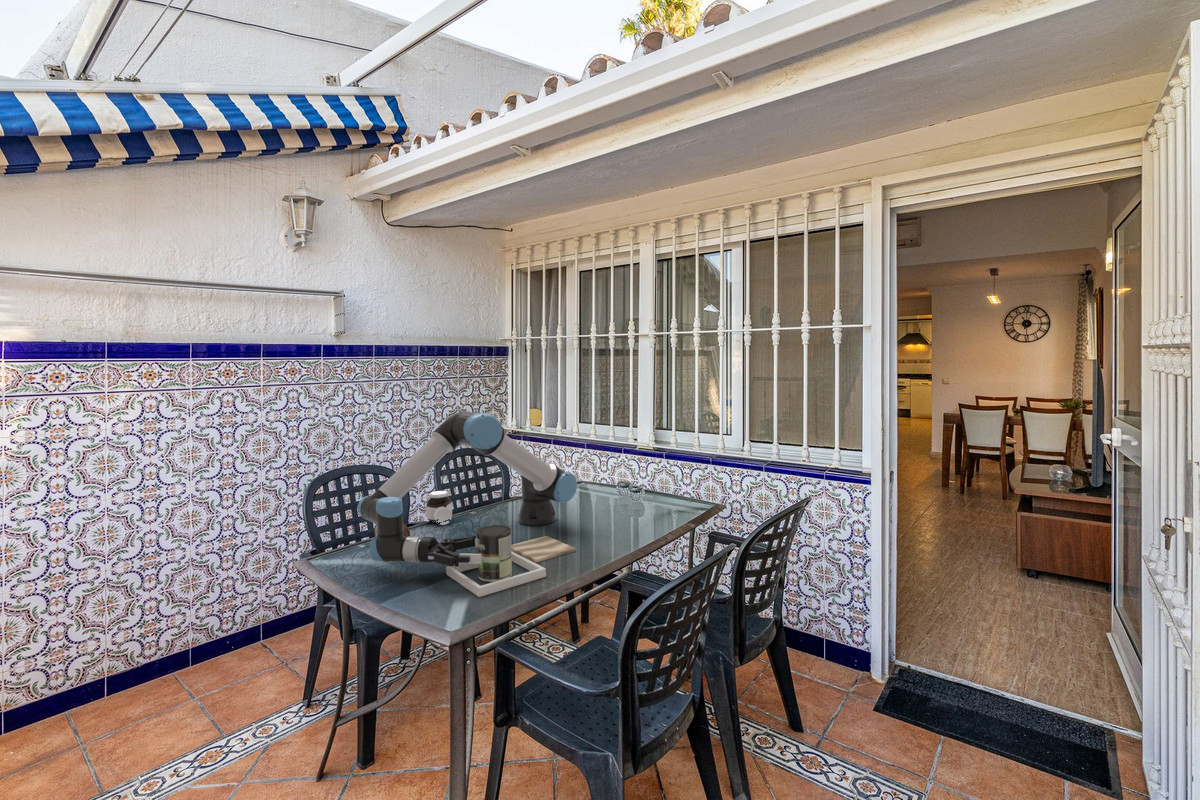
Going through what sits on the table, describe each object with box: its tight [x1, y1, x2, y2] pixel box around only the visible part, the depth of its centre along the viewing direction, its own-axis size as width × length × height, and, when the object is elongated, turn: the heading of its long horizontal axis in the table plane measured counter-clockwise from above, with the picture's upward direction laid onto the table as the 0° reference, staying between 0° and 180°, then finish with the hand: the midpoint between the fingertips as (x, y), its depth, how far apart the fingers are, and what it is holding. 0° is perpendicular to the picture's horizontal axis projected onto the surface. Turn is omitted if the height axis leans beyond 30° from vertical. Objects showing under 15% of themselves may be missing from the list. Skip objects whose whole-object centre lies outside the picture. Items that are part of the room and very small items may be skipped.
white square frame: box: [445, 550, 547, 598], centre depth 171 cm, size 22×22×2 cm
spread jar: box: [425, 490, 453, 526], centre depth 229 cm, size 12×11×12 cm
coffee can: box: [476, 524, 513, 583], centre depth 171 cm, size 10×10×14 cm
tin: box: [373, 523, 411, 537], centre depth 202 cm, size 15×3×8 cm, turn 65°
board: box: [511, 535, 577, 563], centre depth 193 cm, size 18×16×1 cm
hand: (488, 550), depth 170 cm, fingers open, 13 cm apart
